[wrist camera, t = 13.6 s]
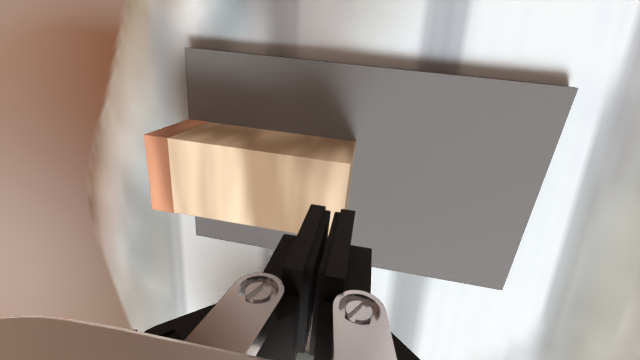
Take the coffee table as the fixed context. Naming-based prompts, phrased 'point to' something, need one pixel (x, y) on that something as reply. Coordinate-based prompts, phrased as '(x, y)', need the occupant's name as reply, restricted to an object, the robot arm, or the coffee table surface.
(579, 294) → the coffee table surface
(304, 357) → the grey-green cup
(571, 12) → the coffee table surface
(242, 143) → the maple block
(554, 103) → the mat
